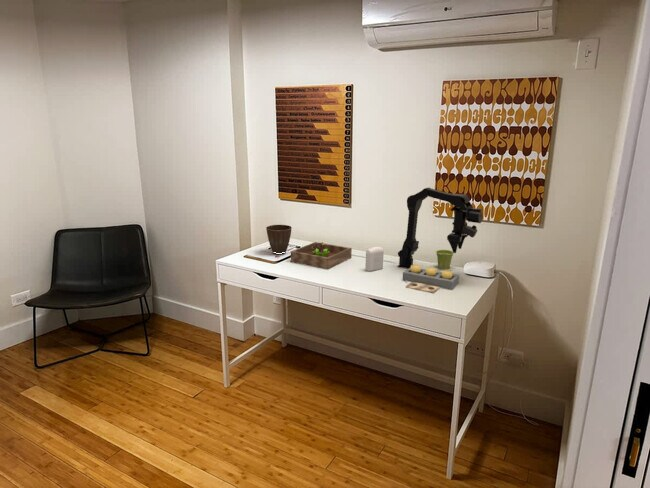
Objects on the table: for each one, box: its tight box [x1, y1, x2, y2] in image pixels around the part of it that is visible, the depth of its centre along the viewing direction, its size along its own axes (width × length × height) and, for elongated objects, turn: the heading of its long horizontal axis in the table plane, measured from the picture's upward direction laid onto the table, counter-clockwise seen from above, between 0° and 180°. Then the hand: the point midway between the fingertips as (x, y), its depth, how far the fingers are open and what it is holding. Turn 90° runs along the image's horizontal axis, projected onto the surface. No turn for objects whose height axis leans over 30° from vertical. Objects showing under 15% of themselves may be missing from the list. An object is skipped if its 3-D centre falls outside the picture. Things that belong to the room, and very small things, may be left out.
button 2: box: [425, 266, 437, 277], centre depth 224 cm, size 5×5×4 cm
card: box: [405, 282, 440, 294], centre depth 217 cm, size 14×8×1 cm, turn 57°
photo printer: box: [365, 246, 384, 272], centre depth 242 cm, size 10×4×12 cm, turn 123°
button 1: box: [410, 264, 422, 274], centre depth 229 cm, size 5×5×4 cm
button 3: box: [441, 269, 453, 280], centre depth 220 cm, size 5×5×4 cm
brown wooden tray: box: [290, 241, 352, 270], centre depth 259 cm, size 25×25×6 cm
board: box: [402, 267, 460, 291], centre depth 225 cm, size 25×11×4 cm, turn 57°
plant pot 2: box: [435, 249, 455, 270], centre depth 247 cm, size 9×9×9 cm
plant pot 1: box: [265, 224, 292, 256], centre depth 271 cm, size 15×15×16 cm
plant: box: [308, 242, 335, 258], centre depth 259 cm, size 20×20×11 cm
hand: (457, 250), depth 228 cm, fingers open, 9 cm apart
